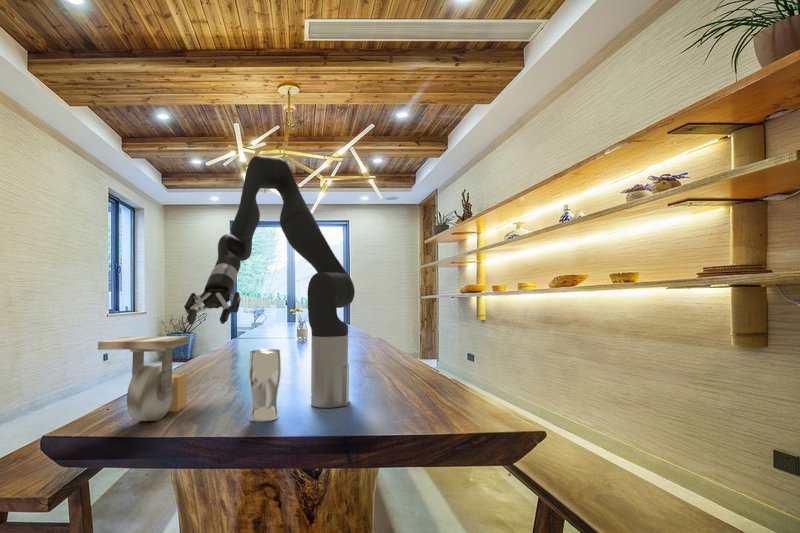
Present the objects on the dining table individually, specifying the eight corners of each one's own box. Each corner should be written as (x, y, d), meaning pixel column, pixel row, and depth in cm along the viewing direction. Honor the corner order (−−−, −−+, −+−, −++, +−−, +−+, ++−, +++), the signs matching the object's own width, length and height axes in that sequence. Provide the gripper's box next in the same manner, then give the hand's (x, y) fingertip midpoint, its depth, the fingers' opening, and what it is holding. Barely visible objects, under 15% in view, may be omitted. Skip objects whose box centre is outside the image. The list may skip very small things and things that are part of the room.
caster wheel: (194, 411, 103) (196, 334, 104) (164, 430, 89) (167, 341, 90) (134, 412, 103) (136, 334, 104) (95, 431, 89) (98, 341, 90)
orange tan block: (186, 406, 109) (186, 373, 109) (177, 411, 104) (178, 377, 105) (165, 406, 108) (166, 374, 109) (156, 411, 104) (156, 377, 104)
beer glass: (286, 418, 98) (287, 350, 99) (258, 425, 93) (258, 354, 94) (270, 412, 103) (270, 348, 104) (242, 418, 98) (243, 351, 99)
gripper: (194, 273, 129) (175, 313, 117) (242, 271, 129) (229, 312, 117) (201, 291, 134) (183, 331, 122) (248, 290, 134) (235, 330, 122)
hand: (206, 322), depth 119 cm, fingers open, 8 cm apart
